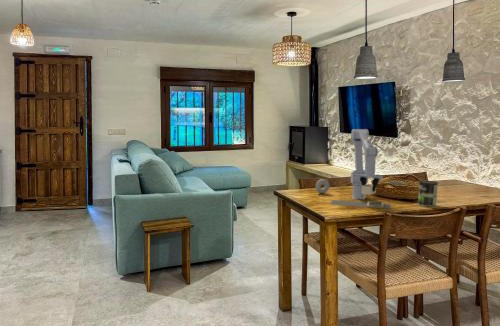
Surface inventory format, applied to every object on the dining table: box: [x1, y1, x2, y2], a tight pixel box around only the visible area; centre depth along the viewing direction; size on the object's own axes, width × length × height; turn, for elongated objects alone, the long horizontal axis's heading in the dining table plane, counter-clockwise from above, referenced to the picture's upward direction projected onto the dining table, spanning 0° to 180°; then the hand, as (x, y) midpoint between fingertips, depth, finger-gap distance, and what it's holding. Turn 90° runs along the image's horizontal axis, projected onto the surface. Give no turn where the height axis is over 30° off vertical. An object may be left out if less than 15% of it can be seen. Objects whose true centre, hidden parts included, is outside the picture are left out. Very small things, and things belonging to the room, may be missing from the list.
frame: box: [366, 200, 384, 209], centre depth 248 cm, size 13×9×1 cm
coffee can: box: [417, 179, 439, 207], centre depth 252 cm, size 10×10×14 cm
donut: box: [315, 178, 330, 195], centre depth 284 cm, size 10×4×10 cm, turn 107°
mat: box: [330, 199, 392, 210], centre depth 251 cm, size 13×34×1 cm, turn 73°
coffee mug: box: [388, 180, 406, 186], centre depth 274 cm, size 13×10×10 cm
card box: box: [362, 183, 377, 195], centre depth 248 cm, size 9×5×5 cm, turn 142°
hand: (369, 190), depth 248 cm, fingers closed on card box, 5 cm apart
